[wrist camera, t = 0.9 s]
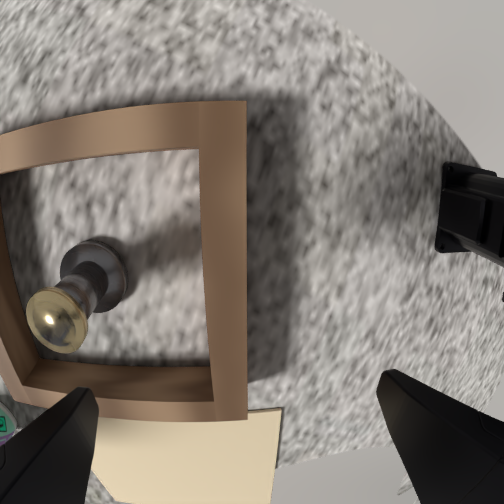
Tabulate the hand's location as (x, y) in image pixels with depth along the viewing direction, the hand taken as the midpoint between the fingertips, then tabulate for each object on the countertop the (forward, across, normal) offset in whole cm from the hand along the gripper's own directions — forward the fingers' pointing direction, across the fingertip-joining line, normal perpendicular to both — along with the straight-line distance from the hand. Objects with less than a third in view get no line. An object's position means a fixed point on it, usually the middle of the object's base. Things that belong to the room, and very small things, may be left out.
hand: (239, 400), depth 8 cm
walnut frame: (+10, +8, 0) cm, 13 cm away
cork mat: (+10, +6, +22) cm, 25 cm away
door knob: (+10, +8, 0) cm, 13 cm away
